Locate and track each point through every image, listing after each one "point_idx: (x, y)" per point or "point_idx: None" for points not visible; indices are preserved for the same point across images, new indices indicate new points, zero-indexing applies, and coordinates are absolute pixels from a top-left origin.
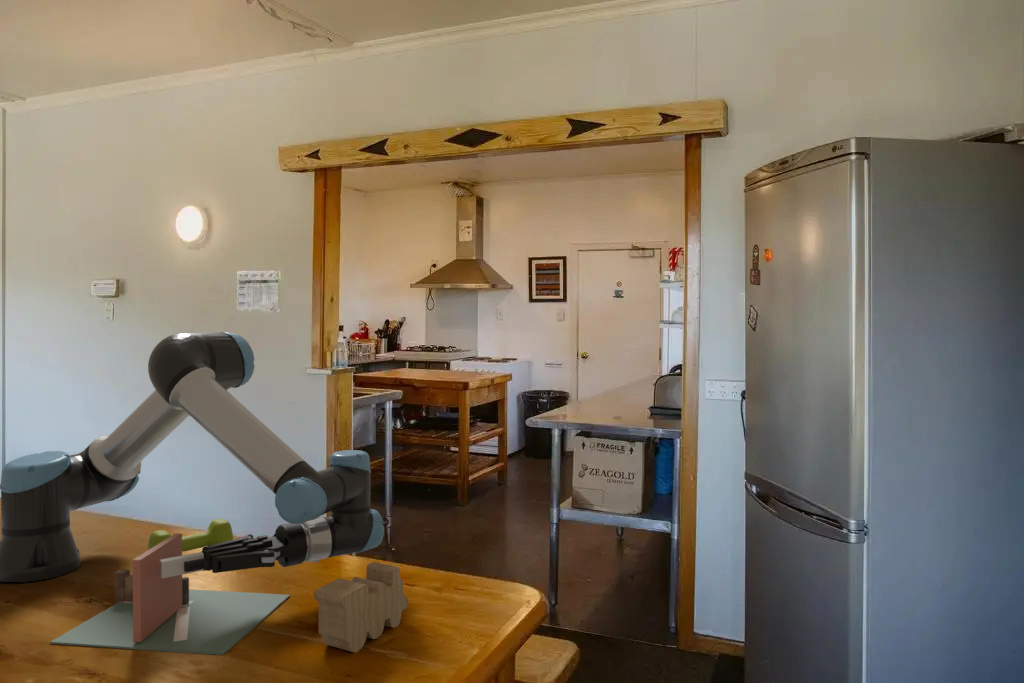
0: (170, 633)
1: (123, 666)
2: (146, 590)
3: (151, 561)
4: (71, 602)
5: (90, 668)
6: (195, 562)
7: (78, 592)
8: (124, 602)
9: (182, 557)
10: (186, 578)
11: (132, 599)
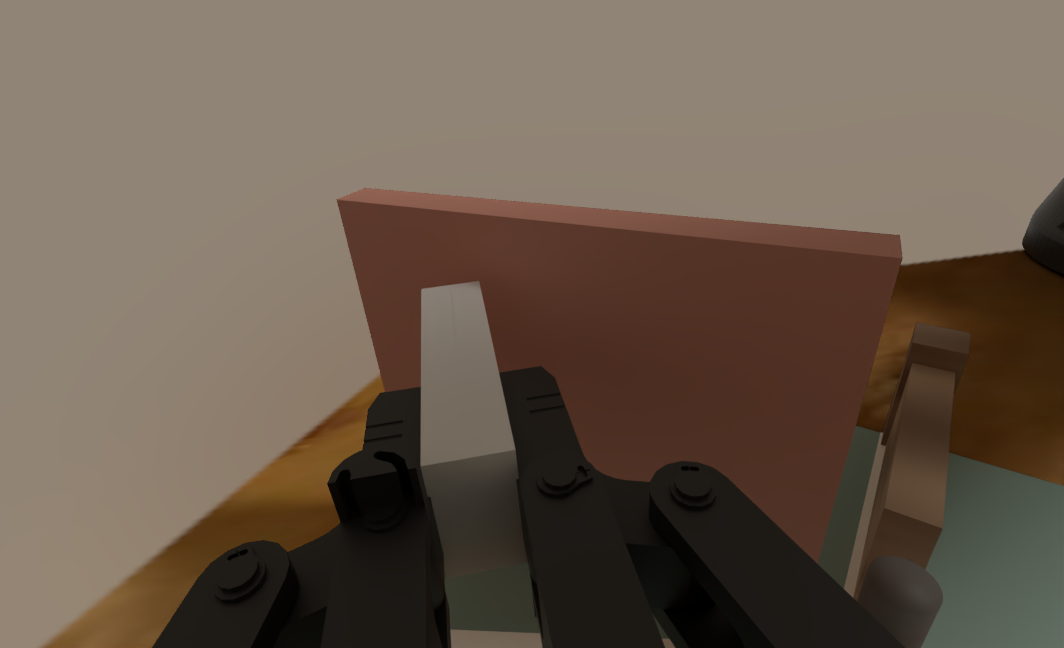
0: (451, 613)
1: (291, 489)
2: (416, 368)
3: (440, 257)
4: (890, 344)
5: (351, 425)
6: (363, 446)
7: (989, 345)
8: (877, 447)
9: (439, 352)
10: (913, 598)
11: (883, 459)
